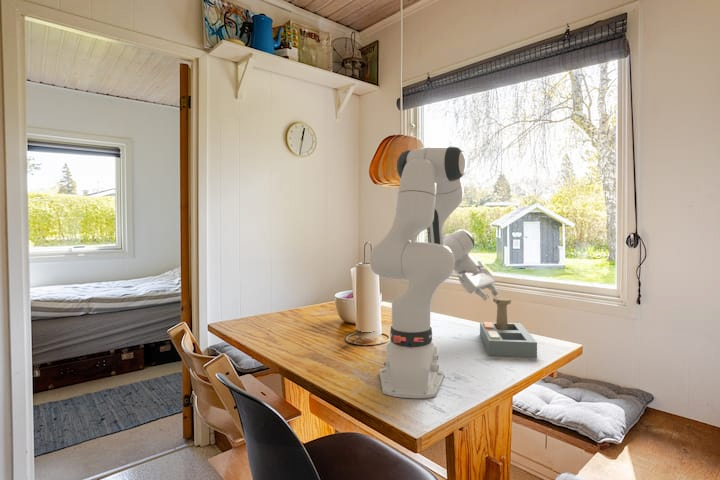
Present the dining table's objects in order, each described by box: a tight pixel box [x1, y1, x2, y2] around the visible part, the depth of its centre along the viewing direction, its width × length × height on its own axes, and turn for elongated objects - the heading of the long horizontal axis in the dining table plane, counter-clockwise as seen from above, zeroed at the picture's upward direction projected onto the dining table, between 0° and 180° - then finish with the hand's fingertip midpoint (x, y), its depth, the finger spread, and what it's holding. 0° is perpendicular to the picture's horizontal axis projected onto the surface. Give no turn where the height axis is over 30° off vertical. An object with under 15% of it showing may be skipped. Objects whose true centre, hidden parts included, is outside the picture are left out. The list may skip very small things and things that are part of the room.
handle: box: [492, 296, 512, 330], centre depth 151 cm, size 5×6×15 cm
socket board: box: [479, 321, 538, 359], centre depth 143 cm, size 24×15×6 cm, turn 170°
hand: (492, 297), depth 151 cm, fingers open, 8 cm apart
